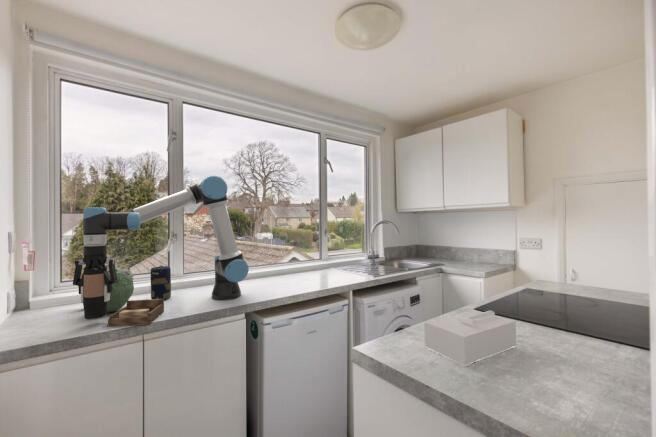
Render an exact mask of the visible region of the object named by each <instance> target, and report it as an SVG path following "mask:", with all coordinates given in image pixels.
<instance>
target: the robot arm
mask: <svg viewBox="0 0 656 437" xmlns="http://www.w3.org/2000/svg"><path fill="white" fill-rule="evenodd" d="M227 193H228V184H227V181H225V179H224V178H222V177H221V176H219V175H213V174H212V175H209V176H205V177H204V178H202V179H200V180H198V181H197V182H196V183H193V184H192V185H189V186H186V188H185V189H183V190H181V191H178V192H176V193H173V194H171V195H168V196H165V197H161V198H159V199H156V200H154V201H151V202H148V203H146V204H142V205H141V206H138V207H135V208H132V209H129V210H126V211H123V212H122V211H120V212H118V211H116V212H115V211H114V212H112V211H108V209H107V207H101V206H100V207H98V206H89V207H85V208H84V209H83V217H82V227H83V228H82V230H83V234H82V235H83V245H84V247H83V248H82V249H83V250H82V251H83V253H82V254H83V258H81V259H76V260H74V266H75V268H74V274H73V279H72V280H73V281H72V285H73V286H77V287H78V295H80V304H83V303H84V271H83V272H82V270H83V265H85V267H84V268H85V269H92V268H98V269H101V268H103V267H106V266H107V265H106V263H107V264H108V270H109V272H110V276H109V273H108V270H107V271H106V272H105V271H104V280H105V282H106V285H105V286H104V302H107V301H109V300H110V292H112V284H113V283H115V282H117V275H116V269H115V267H116V259H115V258H108V257H107V254H108V247H107V242H108V240H107V231H133V230H134V231H136V230H140V229H141V224H143V223H145V222H149V221H151V220H153V219H156V218H158V217H161V216H164V215H166V214H169V213H172V212H174V211H176V210H179V209H183V208H184V207H187V206H189V205H198V204H201V203H203V207H205V208H207V210H208V212H209V216H210V220H211V225H212V227H213V228H212V229H213V231H214V235H215V239H216V242H217V246H218V248H219V253H220V254H217V255H215V256H214V262H213V263H214V285H213V288H212V292H211V299H213V300H221V301H224V300H226V301H227V300H233V299H237V298H239V297H241V296H242V291H241V288H240V284H239V283H240V282H242V281H244V280H245V279H246V277H247V276H248V274H249V265H248V263H247V262H246V261H245V260H244V255H243V252H242V251H241V250H239V248H238V245H237V241H236V237H235V234H234V230H233V226H232V223H231V220H230V219H231V218H230V215H229V211H228V207H227V204H228V202H229V200H228V199H229V198H228V195H227Z"/></svg>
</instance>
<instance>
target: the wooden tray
mask: <svg viewBox="0 0 656 437" xmlns="http://www.w3.org/2000/svg"><path fill="white" fill-rule="evenodd" d="M137 309H149V313H148V316H142V317H127V318H119V313H120V312H121V311H123V310H137ZM164 312H165V299H151V298H150V299H136V300H135V299H134V300H133V299H132V300H128V301H127V303H126V306H123V307H122V308H121V309H119V310H117V311H115V312H113V313H112V314H111V315H109V317H108V318H107V327H108V328H116V327H128V326H141V325H150V324H152V323H153V322H154V321H155V320H156V319H158V318H159V317H160V316H161V315H162V314H163V313H164ZM159 315H160V316H159Z"/></svg>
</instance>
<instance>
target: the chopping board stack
mask: <svg viewBox="0 0 656 437" xmlns="http://www.w3.org/2000/svg"><path fill="white" fill-rule="evenodd" d="M148 313H149V309H137V310H123V311H121V312H120V313H119V318H127V317H142V316H148Z"/></svg>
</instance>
